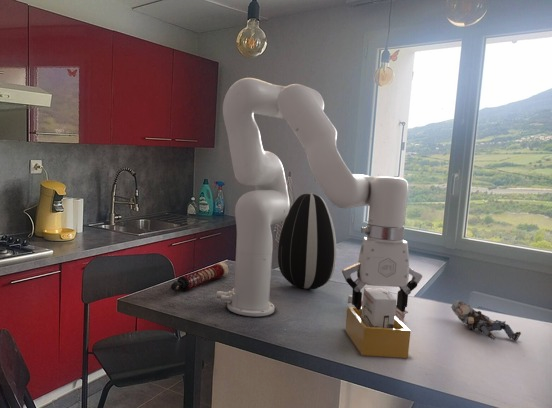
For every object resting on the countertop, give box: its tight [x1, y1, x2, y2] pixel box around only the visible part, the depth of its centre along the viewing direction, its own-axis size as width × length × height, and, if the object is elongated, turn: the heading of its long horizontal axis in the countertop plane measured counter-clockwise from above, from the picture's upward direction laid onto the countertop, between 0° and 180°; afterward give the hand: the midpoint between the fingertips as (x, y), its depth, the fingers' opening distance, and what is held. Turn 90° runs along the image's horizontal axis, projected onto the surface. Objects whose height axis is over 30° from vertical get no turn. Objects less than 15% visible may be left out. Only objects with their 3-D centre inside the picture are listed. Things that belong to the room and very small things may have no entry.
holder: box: [344, 306, 411, 359], centre depth 102 cm, size 10×14×6 cm
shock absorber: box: [170, 261, 230, 292], centre depth 142 cm, size 5×5×30 cm
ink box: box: [361, 287, 397, 328], centre depth 102 cm, size 9×5×12 cm, turn 178°
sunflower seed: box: [277, 192, 338, 290], centre depth 142 cm, size 19×10×30 cm, turn 58°
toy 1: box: [346, 294, 409, 323], centre depth 120 cm, size 8×6×15 cm
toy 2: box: [450, 299, 522, 342], centre depth 113 cm, size 7×11×15 cm
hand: (378, 308), depth 101 cm, fingers open, 9 cm apart
